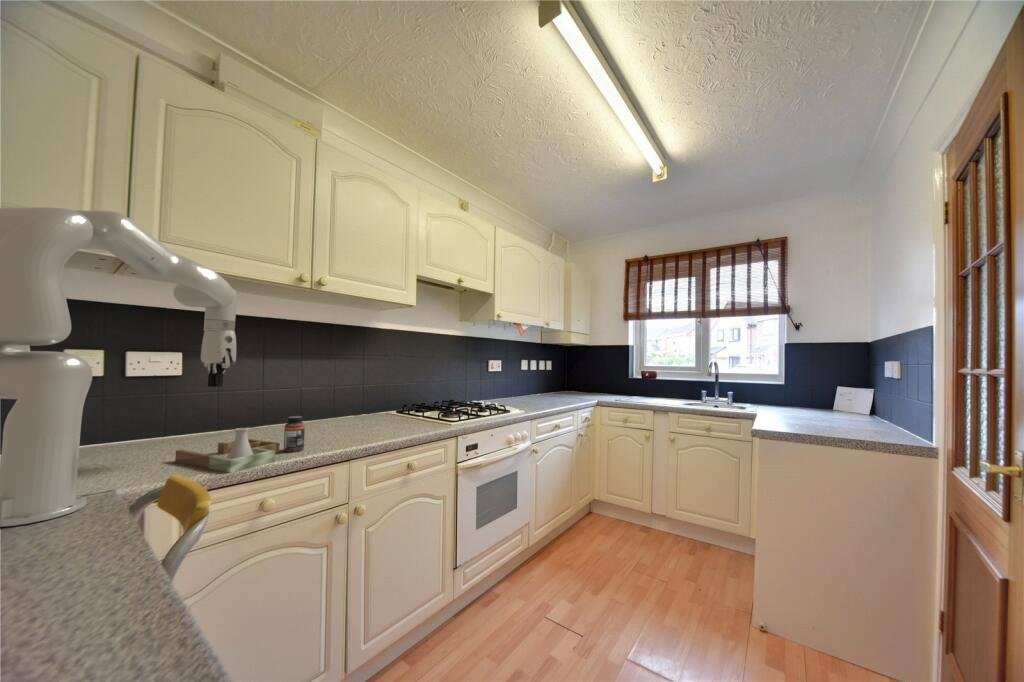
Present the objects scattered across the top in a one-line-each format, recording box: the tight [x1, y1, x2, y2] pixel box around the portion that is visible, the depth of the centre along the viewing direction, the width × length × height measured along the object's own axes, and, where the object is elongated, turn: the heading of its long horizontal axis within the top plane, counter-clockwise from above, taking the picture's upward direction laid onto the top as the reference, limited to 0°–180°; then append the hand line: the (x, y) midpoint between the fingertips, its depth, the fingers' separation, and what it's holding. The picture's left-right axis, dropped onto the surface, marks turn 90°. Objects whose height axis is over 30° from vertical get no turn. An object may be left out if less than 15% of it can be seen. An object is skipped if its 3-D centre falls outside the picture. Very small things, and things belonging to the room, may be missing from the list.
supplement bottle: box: [283, 415, 306, 453], centre depth 125 cm, size 6×6×11 cm
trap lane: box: [174, 438, 280, 474], centre depth 113 cm, size 20×25×3 cm
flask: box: [226, 427, 254, 459], centre depth 109 cm, size 7×7×10 cm
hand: (215, 386), depth 113 cm, fingers closed
